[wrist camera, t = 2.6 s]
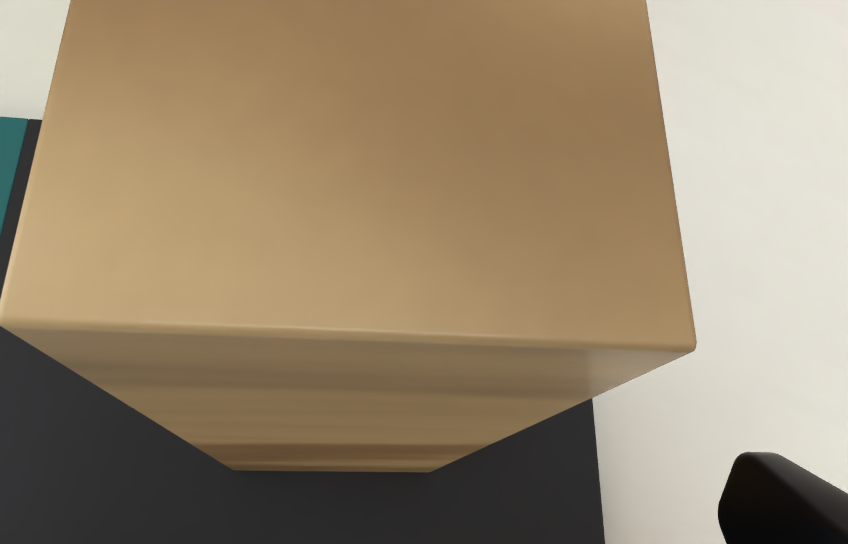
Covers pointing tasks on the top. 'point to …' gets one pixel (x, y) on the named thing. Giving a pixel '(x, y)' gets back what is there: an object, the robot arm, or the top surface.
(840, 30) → the top surface
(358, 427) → the maple block
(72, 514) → the runner mat
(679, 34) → the top surface
